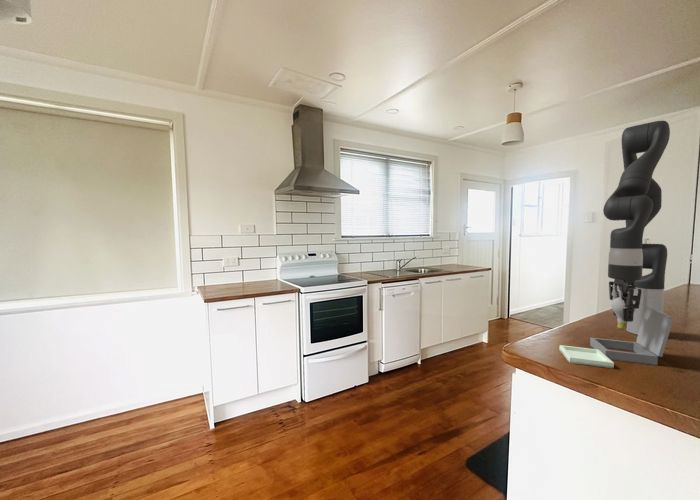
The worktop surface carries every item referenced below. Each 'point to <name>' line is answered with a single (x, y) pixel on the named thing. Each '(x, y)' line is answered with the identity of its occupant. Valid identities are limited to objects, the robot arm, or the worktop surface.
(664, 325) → the lid
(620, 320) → the light bulb
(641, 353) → the case
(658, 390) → the worktop surface
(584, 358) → the tray
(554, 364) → the worktop surface
